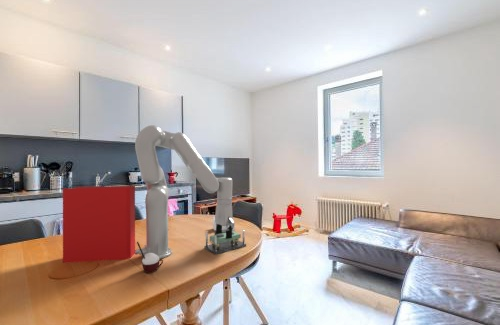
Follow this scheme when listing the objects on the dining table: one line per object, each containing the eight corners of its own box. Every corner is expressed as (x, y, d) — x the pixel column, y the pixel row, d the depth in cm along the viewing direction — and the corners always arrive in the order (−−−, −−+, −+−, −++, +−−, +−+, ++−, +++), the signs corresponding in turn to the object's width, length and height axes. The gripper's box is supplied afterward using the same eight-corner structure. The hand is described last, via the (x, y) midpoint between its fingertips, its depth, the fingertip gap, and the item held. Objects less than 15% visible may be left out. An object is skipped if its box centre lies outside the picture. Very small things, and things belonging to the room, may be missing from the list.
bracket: (213, 231, 144) (213, 219, 144) (213, 228, 151) (213, 217, 151) (234, 230, 147) (234, 218, 147) (232, 227, 154) (232, 216, 154)
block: (218, 240, 127) (218, 233, 127) (214, 238, 130) (214, 231, 130) (230, 237, 132) (230, 230, 132) (226, 236, 135) (226, 229, 135)
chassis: (215, 254, 107) (214, 237, 107) (204, 247, 116) (204, 232, 116) (246, 246, 118) (246, 230, 118) (234, 240, 127) (234, 225, 127)
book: (62, 262, 100) (62, 188, 100) (74, 255, 107) (74, 186, 108) (129, 259, 103) (129, 187, 103) (136, 252, 111) (135, 185, 111)
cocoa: (163, 267, 95) (164, 237, 96) (160, 273, 89) (161, 242, 90) (138, 268, 93) (140, 238, 94) (133, 275, 87) (135, 242, 88)
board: (216, 243, 110) (216, 238, 110) (209, 240, 115) (209, 234, 115) (240, 238, 118) (240, 232, 118) (233, 234, 124) (233, 229, 124)
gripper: (209, 200, 121) (209, 232, 121) (227, 204, 108) (226, 241, 107) (222, 199, 126) (221, 230, 126) (240, 203, 112) (239, 239, 112)
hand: (223, 235), depth 117 cm, fingers open, 9 cm apart
